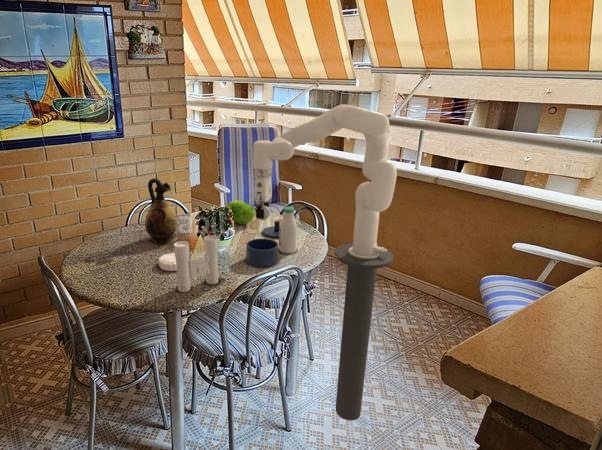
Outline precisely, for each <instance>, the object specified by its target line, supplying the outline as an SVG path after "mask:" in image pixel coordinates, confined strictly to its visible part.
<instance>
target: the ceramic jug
mask: <svg viewBox="0 0 602 450" xmlns="http://www.w3.org/2000/svg"><path fill="white" fill-rule="evenodd" d="M153 184H155V185H156V187H155V188H153ZM147 187H148V192H149V197H150V199H151V200H150V201H151V202H150V207H149V209H148V211H147V213H146V216H145V220H144V227H145V231H146V233H147V234H148V236H149V237H150V238H151V240H152V239H153V240H152V242H154V243H157V244H163V243H164V244H165V243H169V242H171V240H172V238H173V236H174V235H175V233H176V231H177V228H178V221H177V217H176V214H175V212H174V210H173V208H172V207H171V205H170V204H169V203H168V201H167V200H166V198H165V196H164V194H165V193H167V192H169V191H171V190H172V187H171V186H170V184H169V183H168V182H165V183H162V182H161V180H160V179H158V178H156V177H154V178H150V179H149V180H148V182H147ZM155 193H156V194H155Z"/></svg>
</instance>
